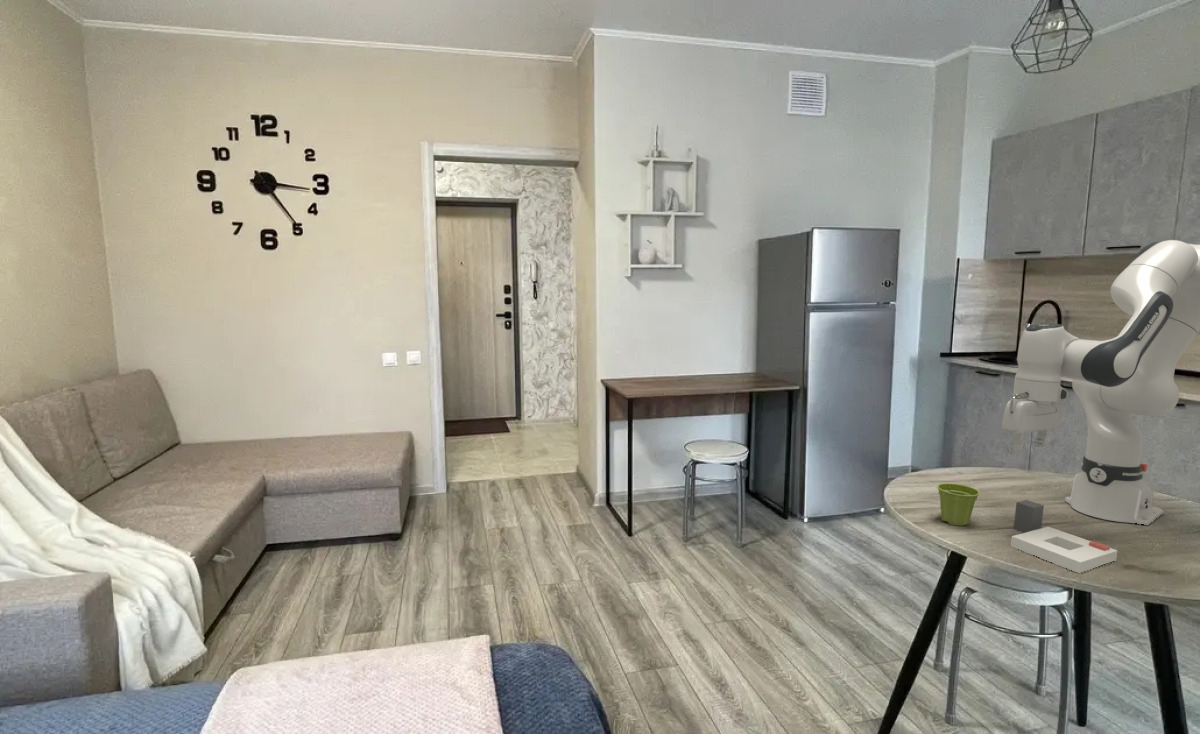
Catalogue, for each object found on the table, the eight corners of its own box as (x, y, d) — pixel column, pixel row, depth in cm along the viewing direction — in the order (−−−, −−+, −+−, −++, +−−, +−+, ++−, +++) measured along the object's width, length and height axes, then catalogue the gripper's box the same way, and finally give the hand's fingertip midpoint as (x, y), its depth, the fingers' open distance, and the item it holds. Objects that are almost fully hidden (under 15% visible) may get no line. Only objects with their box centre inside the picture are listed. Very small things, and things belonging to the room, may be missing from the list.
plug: (1023, 526, 150) (1026, 499, 149) (1040, 532, 146) (1043, 505, 145) (1013, 529, 148) (1016, 502, 147) (1030, 535, 145) (1033, 507, 144)
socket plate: (1046, 536, 144) (1048, 523, 144) (1116, 561, 132) (1117, 547, 131) (1010, 546, 139) (1012, 533, 138) (1079, 573, 126) (1081, 559, 125)
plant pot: (931, 512, 159) (934, 480, 158) (972, 517, 155) (975, 485, 154) (936, 525, 150) (940, 492, 149) (980, 531, 147) (983, 497, 146)
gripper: (1027, 396, 134) (1020, 456, 136) (1072, 391, 144) (1064, 447, 146) (997, 391, 140) (991, 449, 141) (1042, 387, 150) (1035, 441, 151)
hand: (1028, 448), depth 144 cm, fingers open, 8 cm apart
